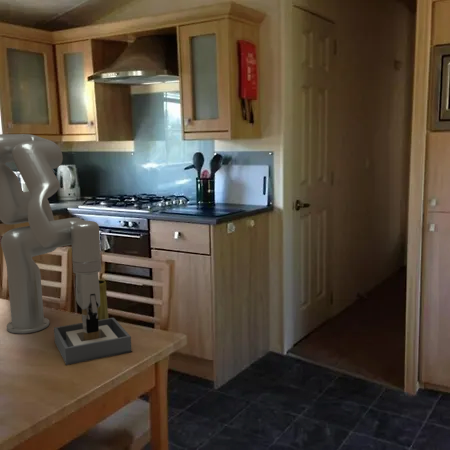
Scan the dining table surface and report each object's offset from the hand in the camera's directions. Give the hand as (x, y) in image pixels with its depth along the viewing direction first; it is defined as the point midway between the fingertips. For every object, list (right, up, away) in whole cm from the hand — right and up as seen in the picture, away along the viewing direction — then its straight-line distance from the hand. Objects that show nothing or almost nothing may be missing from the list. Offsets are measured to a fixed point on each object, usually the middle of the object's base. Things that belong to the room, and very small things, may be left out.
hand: (90, 328), depth 152 cm
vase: (-2, -3, +18) cm, 18 cm away
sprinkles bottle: (0, -4, +1) cm, 4 cm away
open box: (0, -5, +1) cm, 6 cm away
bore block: (0, -5, +1) cm, 6 cm away
